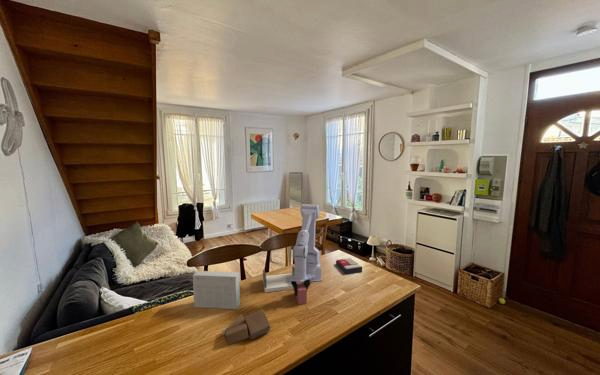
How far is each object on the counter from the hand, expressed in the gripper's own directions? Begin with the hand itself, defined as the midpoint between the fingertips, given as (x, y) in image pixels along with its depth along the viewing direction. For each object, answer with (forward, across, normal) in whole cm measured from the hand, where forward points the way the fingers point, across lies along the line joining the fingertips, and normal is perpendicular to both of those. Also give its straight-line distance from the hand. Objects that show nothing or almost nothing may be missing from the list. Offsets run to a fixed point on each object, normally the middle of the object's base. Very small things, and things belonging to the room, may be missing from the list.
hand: (300, 294), depth 124 cm
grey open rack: (+2, -8, +16) cm, 18 cm away
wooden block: (+2, -27, -18) cm, 32 cm away
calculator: (+3, +37, +26) cm, 45 cm away
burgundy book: (+2, 0, 0) cm, 2 cm away
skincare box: (+2, -40, +3) cm, 40 cm away
